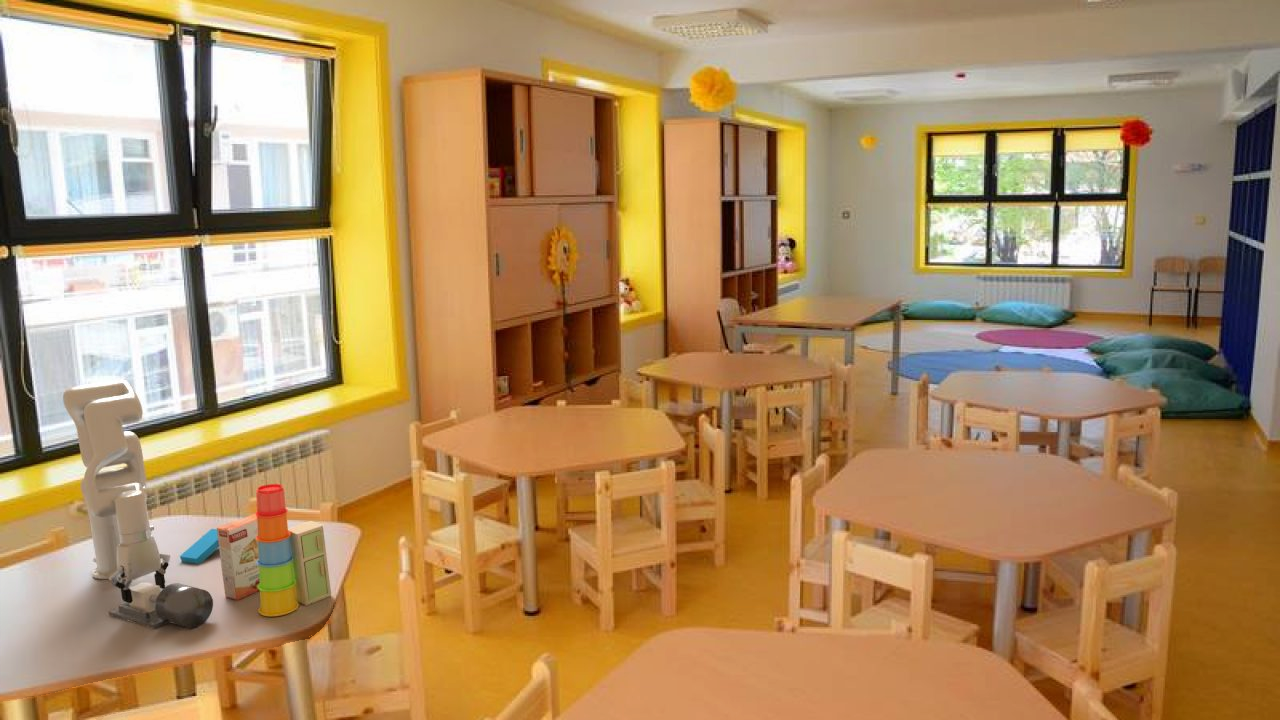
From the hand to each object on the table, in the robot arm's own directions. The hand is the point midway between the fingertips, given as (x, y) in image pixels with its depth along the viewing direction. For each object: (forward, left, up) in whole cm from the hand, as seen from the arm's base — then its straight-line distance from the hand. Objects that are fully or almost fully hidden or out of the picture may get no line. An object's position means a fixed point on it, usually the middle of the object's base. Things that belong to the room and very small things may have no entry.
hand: (144, 594), depth 265 cm
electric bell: (+7, 0, -5) cm, 9 cm away
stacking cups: (+34, +16, -5) cm, 38 cm away
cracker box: (+16, +22, -5) cm, 28 cm away
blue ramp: (-21, +37, -5) cm, 43 cm away
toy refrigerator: (+37, +25, -5) cm, 45 cm away
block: (0, 0, -4) cm, 4 cm away
